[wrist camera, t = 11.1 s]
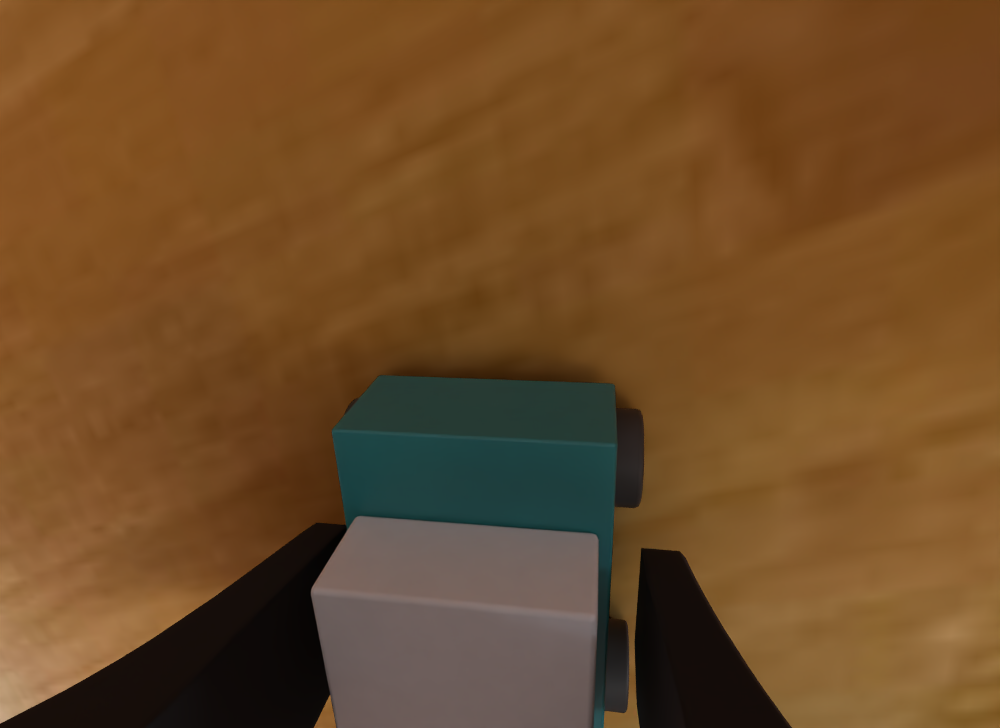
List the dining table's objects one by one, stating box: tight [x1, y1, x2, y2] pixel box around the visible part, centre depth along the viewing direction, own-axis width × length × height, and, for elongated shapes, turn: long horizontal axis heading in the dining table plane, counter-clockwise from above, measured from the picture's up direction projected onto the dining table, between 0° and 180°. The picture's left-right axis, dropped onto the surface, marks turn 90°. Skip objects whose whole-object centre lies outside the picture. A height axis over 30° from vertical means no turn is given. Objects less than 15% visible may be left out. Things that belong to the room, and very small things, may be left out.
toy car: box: [311, 375, 644, 728], centre depth 10 cm, size 7×5×4 cm
